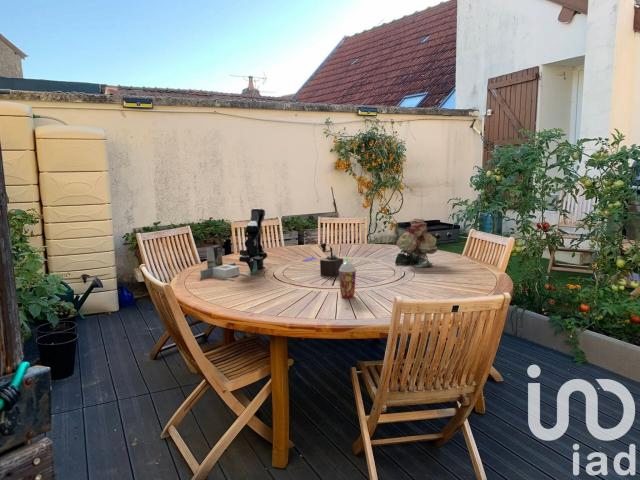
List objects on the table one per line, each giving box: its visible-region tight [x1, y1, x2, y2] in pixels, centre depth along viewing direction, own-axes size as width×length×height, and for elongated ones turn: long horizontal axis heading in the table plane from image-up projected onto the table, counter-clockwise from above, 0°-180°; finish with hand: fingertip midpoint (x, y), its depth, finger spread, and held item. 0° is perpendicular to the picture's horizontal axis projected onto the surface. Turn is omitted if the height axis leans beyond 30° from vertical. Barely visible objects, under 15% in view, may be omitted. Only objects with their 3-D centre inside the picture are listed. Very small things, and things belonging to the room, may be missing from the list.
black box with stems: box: [319, 242, 344, 278], centre depth 263 cm, size 16×11×18 cm
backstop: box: [200, 262, 251, 282], centre depth 262 cm, size 26×21×5 cm
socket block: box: [213, 264, 240, 278], centre depth 264 cm, size 11×11×5 cm
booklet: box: [302, 256, 318, 262], centre depth 303 cm, size 12×25×1 cm, turn 53°
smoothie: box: [338, 256, 357, 299], centre depth 214 cm, size 8×8×20 cm
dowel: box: [250, 261, 258, 276], centre depth 266 cm, size 4×4×8 cm
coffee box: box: [205, 244, 224, 269], centre depth 276 cm, size 9×6×16 cm
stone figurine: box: [394, 218, 438, 268], centre depth 286 cm, size 26×29×30 cm
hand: (254, 270), depth 267 cm, fingers closed on dowel, 4 cm apart
